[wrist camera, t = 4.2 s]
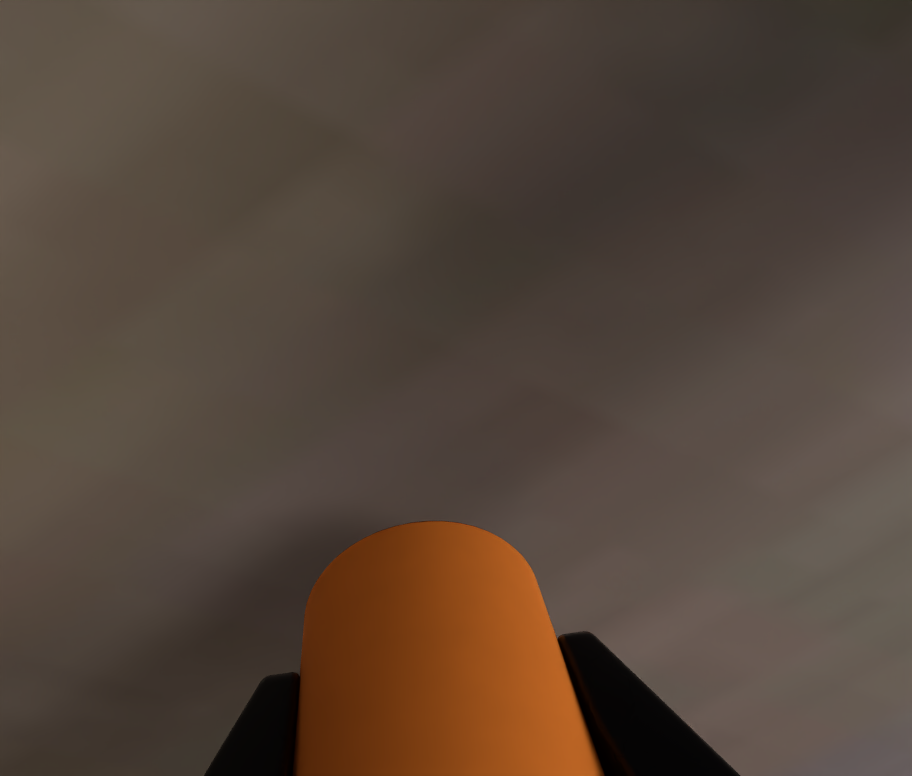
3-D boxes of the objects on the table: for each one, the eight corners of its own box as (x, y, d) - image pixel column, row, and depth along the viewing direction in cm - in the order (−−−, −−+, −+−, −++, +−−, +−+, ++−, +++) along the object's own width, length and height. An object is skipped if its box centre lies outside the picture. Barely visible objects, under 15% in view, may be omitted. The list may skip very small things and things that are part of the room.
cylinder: (528, 684, 10) (642, 1090, 6) (311, 704, 10) (286, 1155, 6) (549, 512, 9) (712, 894, 5) (296, 526, 8) (251, 960, 4)
